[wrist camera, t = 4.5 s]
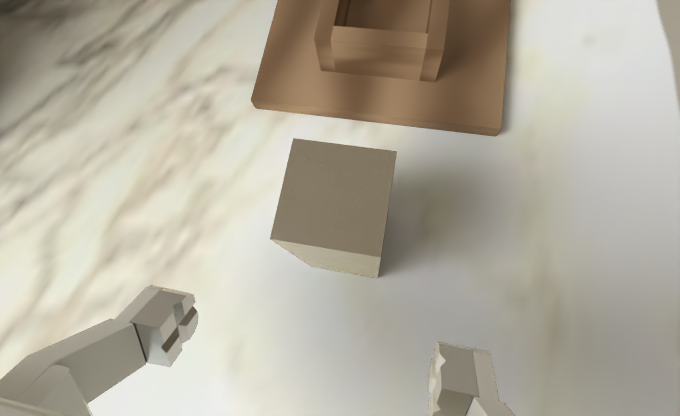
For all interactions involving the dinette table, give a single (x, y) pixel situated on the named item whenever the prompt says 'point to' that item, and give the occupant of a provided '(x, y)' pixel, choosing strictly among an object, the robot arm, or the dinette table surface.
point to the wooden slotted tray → (389, 62)
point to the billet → (335, 206)
